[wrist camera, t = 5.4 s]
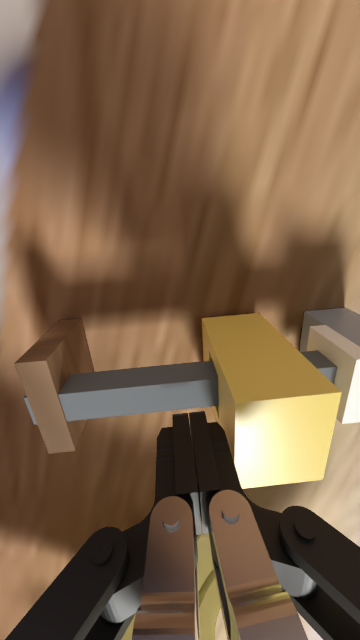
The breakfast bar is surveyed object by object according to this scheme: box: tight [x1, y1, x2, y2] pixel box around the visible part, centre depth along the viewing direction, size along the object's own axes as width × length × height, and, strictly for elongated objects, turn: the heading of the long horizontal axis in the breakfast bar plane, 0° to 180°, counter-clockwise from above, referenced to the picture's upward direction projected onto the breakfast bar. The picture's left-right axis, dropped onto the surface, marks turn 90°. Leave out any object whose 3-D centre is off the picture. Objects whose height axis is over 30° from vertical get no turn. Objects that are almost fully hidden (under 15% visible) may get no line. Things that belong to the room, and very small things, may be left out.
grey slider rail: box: [24, 350, 337, 425], centre depth 14 cm, size 20×2×2 cm, turn 94°
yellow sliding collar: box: [202, 313, 342, 489], centre depth 14 cm, size 4×5×8 cm
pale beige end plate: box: [307, 325, 360, 424], centre depth 14 cm, size 1×4×4 cm, turn 4°
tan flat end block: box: [14, 318, 94, 454], centre depth 15 cm, size 2×6×6 cm, turn 4°
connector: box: [299, 308, 360, 352], centre depth 16 cm, size 3×4×6 cm
